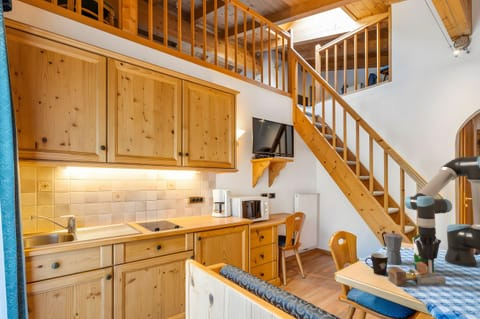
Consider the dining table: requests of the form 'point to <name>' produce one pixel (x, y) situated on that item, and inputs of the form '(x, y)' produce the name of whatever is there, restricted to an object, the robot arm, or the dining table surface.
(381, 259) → the coffee mug
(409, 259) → the dining table surface
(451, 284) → the dining table surface
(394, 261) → the moka pot
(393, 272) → the brown wooden block
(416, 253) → the milk carton
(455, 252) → the robot arm
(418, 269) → the gold piece
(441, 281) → the sliding bolt latch
